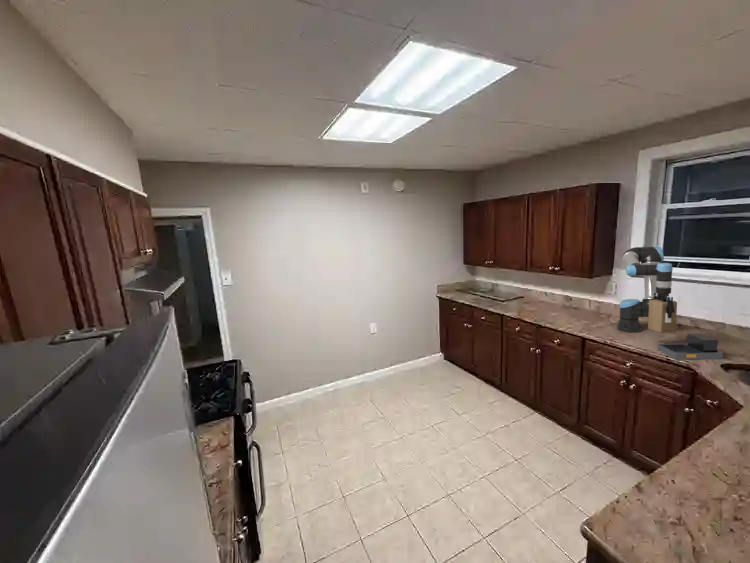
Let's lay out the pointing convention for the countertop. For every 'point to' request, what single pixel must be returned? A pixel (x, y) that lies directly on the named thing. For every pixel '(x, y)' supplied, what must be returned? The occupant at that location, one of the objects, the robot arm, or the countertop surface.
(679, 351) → the rack
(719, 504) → the countertop surface
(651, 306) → the wooden block
